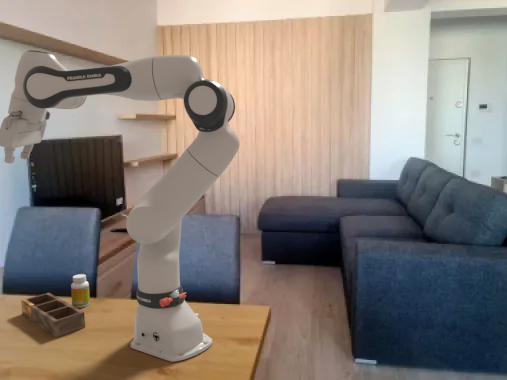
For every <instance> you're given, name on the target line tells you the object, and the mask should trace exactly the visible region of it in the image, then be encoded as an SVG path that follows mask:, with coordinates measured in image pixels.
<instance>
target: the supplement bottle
mask: <svg viewBox="0 0 507 380" xmlns="http://www.w3.org/2000/svg"><path fill="white" fill-rule="evenodd" d="M70 289H71V305H72V306H74V307H76V308H77V309H81V308H85V307H87V306H89V305H90V304H91V298H90V295H91V294H90V284H89V282H88V281H87V275H86V274H84V273H79V274H75V275H73V276H72V283H71V284H70Z"/></svg>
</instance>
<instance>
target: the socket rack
mask: <svg viewBox="0 0 507 380" xmlns="http://www.w3.org/2000/svg"><path fill="white" fill-rule="evenodd" d="M20 301H21V302H20V303H21V313H22V314H21V315H23V316H24V317H26V318H27V319H29V320H31V322H33V323H35V324H36V325H38V327H40V328H42V329H43V330H44V331H46V332H48V333H49V334H51V335H52V336H53V337H54V338H59V337H61V336H64V335H66V334H67V335H68V334H70V333H73V332H76V331H78V330H82V329H84V328H86V320H85V319H86V317H85V312H84V311H83V310H81V309H80V308H76V307H74V306H73V305H72V304H70V303H69V302H66V300H63V299H61V298H59V296H58V297H57V296H56V295H54V294H52V293H51V292H47V293H42V294H39V295H35V296H32V297H28V298H24V299H21V300H20Z"/></svg>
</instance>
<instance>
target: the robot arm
mask: <svg viewBox="0 0 507 380" xmlns="http://www.w3.org/2000/svg"><path fill="white" fill-rule="evenodd" d="M98 95H99V96H100V95H109V96H115V97H119V98H121V97H122V98H126V99H131V100H135V101H143V102H144V101H147V102H153V101H156V102H157V101H165V100H166V101H167V100H172V99H173V100H174V99H181V100H183V106H184V109H185V112H186V114H187V116H188V117H189V118H190V120H191V122H192V123H193V125H194V126H195V128H196V130H197V131H198V133H197V136H196V137H195V139H193V141H192V142H191V143H190V145H188V147H187V148H186V149H185V150H184V151H183V152H182V153H181V155H180V156H179V157H178V158H177V160H176V161H175V162H174V163H173V164H172V165H171V166H170V168H169V169H168V170H167V171H166V172H165V173H164V174H163V175H162V176H161V177H160V178H159V179H158V180H157V181H156V182H155V183H154V184H153V185H152V187H151V188H150V189H149V190H148V191H147V192H146V193H145V194H144V195H143V196H142V197H141V198H140V199H139V201H137V202H136V204H134V205H133V207H132V209H130V211H129V213H128V215H127V217H126V222H125V228H126V231H127V233H128V235H129V237H130V238H131V240H134V241H135V242H136V243H139V251H138V255H137V260H136V263H137V265H136V266H137V267H136V268H137V286H138V287H137V288H136V300H137V301H136V302H137V303H138V304H137V305H138V306H137V309H136V312H135V314H134V322H133V323H134V328H133V340H132V341H131V342H130V348H131V349H133V350H136V351H139V352H142V353H145V354H148V355H151V356H153V357H157V358H159V359H162V360H165V361H168V362H173V363H174V362H180V361H182V360H183V361H184V360H187V359H190V358H192V357H194V356H197V355H199V354H201V353H203V352H205V351H206V350H207V349H209V348H210V347H211V346H212V345H213V338H212V337H210V336H209V335H207V334H206V333H204V330H203V323H202V320H201V318H200V317H201V316H200V314H199V313H198V312H194V309H192V308H191V306H190V305H189V304H188V303H187V301H186V300H185V299H186V297H187V295H186V294H187V292H186V291H185V292H184V290H183V286H182V284H181V279H180V277H181V276H180V274H181V273H180V272H181V271H180V248H181V236H182V220H183V218H184V217H185V216H187V214H188V213H189V211H191V209H193V207H194V206H195V205H196V204H197V203H198V202H199V200H200V199H202V197H204V195H205V193H207V192H208V190H209V189H210V188H211V187H212V186H213V185H214V183H216V181H217V180H218V179H219V178H220V177H221V176H222V174H223V173H224V172H225V171H226V169H227V168H228V167H229V165H230V164H231V163H232V161H233V159H234V158H235V157H236V154H237V152H238V150H239V149H240V140H239V137H238V135H237V134H236V132H235V131H234V130H233V128H231V127H230V125H229V122H230V121H231V120H232V118H233V117H234V114H235V111H236V103H235V99H234V97H233V96H232V94H231V93H230V91H229V90H228V89H227V88H226V87H225V86H223V85H222V84H221V83H218V82H217V81H214V80H212V79H205V78H204V74H203V69H202V66H201V65H200V63H199V61H198V60H197V58H195V57H193V56H192V55H185V54H163V55H153V56H148V57H147V56H146V57H142V58H138V59H135V60H130V61H126V62H122V63H121V62H120V63H117V64H113V65H108V66H102V67H95V68H94V67H93V68H84V69H73V70H69V69H67V68H66V67H65V66H63V65H62V63H60V62H59V61H58V59H57V57H56V56H55V55H54V54H53V53H50V52H47V51H41V50H33V49H31V50H25V51H24V52H23V53H22V55H21V56H20V58H19V61H18V64H17V68H16V70H15V76H14V89H13V91H12V93H11V94H10V96H11V97H10V100H9V105H8V110H7V113H8V115H7V116H6V117H4V118H3V119H2V121H1V125H0V147H2V148H4V149H3V150H4V160H3V161H4V163H7V164H12V163H14V162H15V156H14V153H15V152H16V148H20V147H21V148H22V147H23V149H22V151H21V152H20V157H19V158H20V159H23V160H28V159H29V158H30V154H31V152H32V150H33V148H34V145H35V144H40V143H41V142H42V140H43V138H44V135H45V131H46V128H47V124H48V122H47V121H49V120H50V118H51V112H50V110H48V109H58V110H75V109H78V108H80V107H81V106H83V104H85V101H86V100H87V97H88V96H98Z"/></svg>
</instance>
